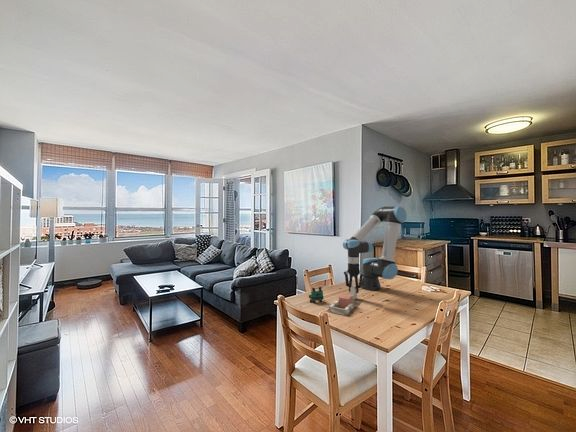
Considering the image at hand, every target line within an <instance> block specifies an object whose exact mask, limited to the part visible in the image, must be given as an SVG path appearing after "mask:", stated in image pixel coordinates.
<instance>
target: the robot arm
mask: <svg viewBox="0 0 576 432" xmlns="http://www.w3.org/2000/svg"><path fill="white" fill-rule="evenodd" d="M407 217H408V215H407V211H406V209H405V208H404V207H403V206H397V205H396V206H394V205H393V206H381V207H380V208H378V209H376V210H375V211H373V213H371V214H370V216H369V218H368V219H367V220H366V221H365V223H364V224H363V225H362V226H361V227H360V228H358V230H357V231H355V233H354V234H353V235H352V236H351V237H350V238H347V239H344V240H343V241H342V247H343V249H345V250H346V251H347V270H345V271H344V272H343V274H344V278H345V286H346V287H348V293H349V294H350V296H351V287H352V286H353V285H352V284H353V278H354V282H355V283H354V285H355V286H356V288H355V298H356V299H358V293H359V290H360V289H363V290H367V291H379V290H381V289H382V287H381V286H382V285H381V282H380V279H379V278H382V279H385V280H394V278H396V276H397V274H398V271H399V270H398V269H399V268H398V266H397V264H396V261H395V259H394V258H395V252H396V247H397V240H398V237H399V229H400V227H401V226H402V225H403V223H405V221H406V220H407ZM381 223H385V224H386V228H385V233H384V239H383V244H382V245H383V246H382V251H381V256H380V257H367V258H363V260H362V272H361V270H360V254H366V253H370V252H372V251H373V249H374V248H373V247H374V246H373V243H372V242H371V241H364V239H365V238H366V237H367V236H369V234H370V233H371V232H372V231H373V230H374V229H375V228H376V226H379V225H380V224H381ZM348 275H349V276H348ZM358 276H359V279H358Z"/></svg>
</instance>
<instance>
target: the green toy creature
mask: <svg viewBox="0 0 576 432" xmlns="http://www.w3.org/2000/svg"><path fill="white" fill-rule="evenodd" d="M322 288H323V287H322V286H319V287H318V290H316V288H315V287H312V288H311V289H312V290H311V291H310V294H309V295H308V299H309V302H311V303H312V304H316V303H317V302H318V303H320V304H321V303H323V302H324V301H323V300H324V291H323V290H322ZM316 301H317V302H316Z"/></svg>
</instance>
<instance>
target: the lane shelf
mask: <svg viewBox="0 0 576 432" xmlns="http://www.w3.org/2000/svg"><path fill="white" fill-rule="evenodd" d="M363 302H364V299H359V298H356V299H355V300H354V299H352V302H351V303H350V304H349V305H348V306H347V307H346V308H341V307H339V299H336V300H335V301H334V302H333V303H331V304H330V305H329V306H328V309H327V310H326V312H328V313H333V314H337V315H342V316H345V317H350V316H351V315H352V314H353V313H354V312H355V311H356V309H357V308H359V306H360V305H361V304H362V303H363Z"/></svg>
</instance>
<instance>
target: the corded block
mask: <svg viewBox="0 0 576 432" xmlns="http://www.w3.org/2000/svg"><path fill="white" fill-rule="evenodd" d="M355 288H356V285H352V286H351V296H350V295H349V294H343V293H342V295H340V296H339V298H338V300H339V307H341V308H346V307H347V306H348V305H349V304H350V303H351V302H352V299H354V300H355V299H357V298H355Z"/></svg>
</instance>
